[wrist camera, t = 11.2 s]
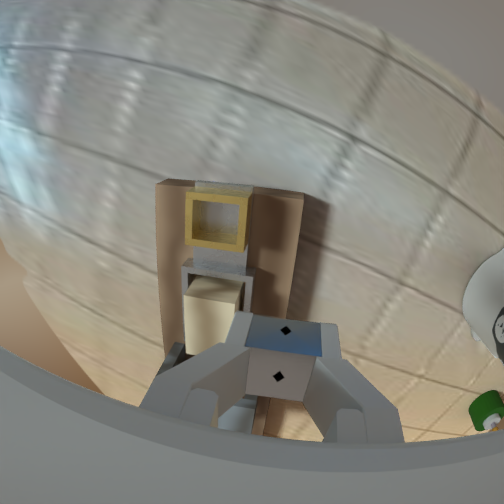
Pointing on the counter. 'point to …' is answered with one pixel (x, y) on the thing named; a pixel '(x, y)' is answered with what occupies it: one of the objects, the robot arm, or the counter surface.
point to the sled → (219, 235)
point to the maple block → (210, 311)
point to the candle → (487, 411)
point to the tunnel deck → (265, 288)
